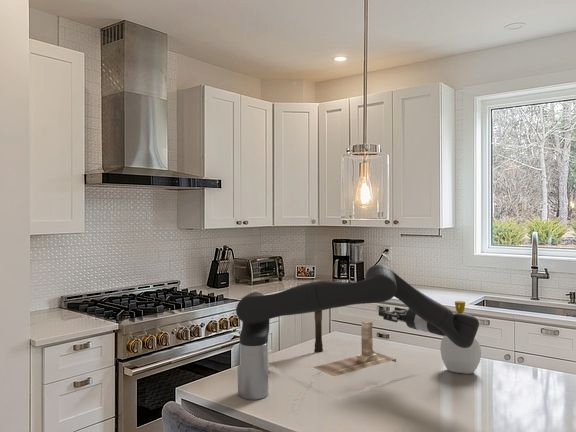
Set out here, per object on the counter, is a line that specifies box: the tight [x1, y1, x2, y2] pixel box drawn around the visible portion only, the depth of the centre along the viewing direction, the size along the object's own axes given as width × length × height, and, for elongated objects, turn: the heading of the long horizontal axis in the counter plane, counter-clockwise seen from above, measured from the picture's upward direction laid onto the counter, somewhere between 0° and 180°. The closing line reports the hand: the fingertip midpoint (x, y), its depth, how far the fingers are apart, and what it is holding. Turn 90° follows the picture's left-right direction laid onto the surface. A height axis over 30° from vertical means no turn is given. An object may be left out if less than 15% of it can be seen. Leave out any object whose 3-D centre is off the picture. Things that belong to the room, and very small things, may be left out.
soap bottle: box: [439, 300, 482, 375], centre depth 176 cm, size 14×9×26 cm, turn 66°
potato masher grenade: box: [309, 281, 324, 354], centre depth 200 cm, size 8×9×30 cm
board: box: [313, 351, 397, 377], centre depth 183 cm, size 32×12×2 cm, turn 125°
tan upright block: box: [356, 320, 377, 363], centre depth 187 cm, size 7×4×15 cm, turn 125°
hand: (387, 311), depth 178 cm, fingers open, 8 cm apart
